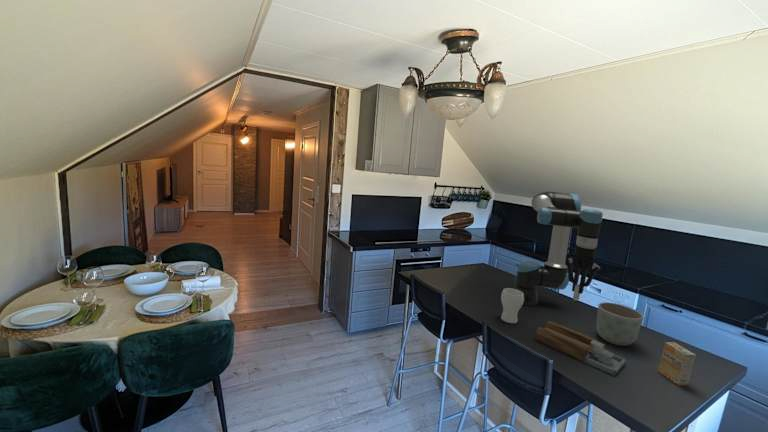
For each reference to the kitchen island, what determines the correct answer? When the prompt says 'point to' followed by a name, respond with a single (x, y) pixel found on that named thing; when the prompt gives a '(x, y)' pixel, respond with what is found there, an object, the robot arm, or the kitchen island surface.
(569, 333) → the slot board
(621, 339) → the planter
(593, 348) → the chip rear
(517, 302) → the cup
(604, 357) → the chip front
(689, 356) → the supplement box
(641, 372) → the kitchen island surface
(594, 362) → the tray
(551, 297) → the kitchen island surface
